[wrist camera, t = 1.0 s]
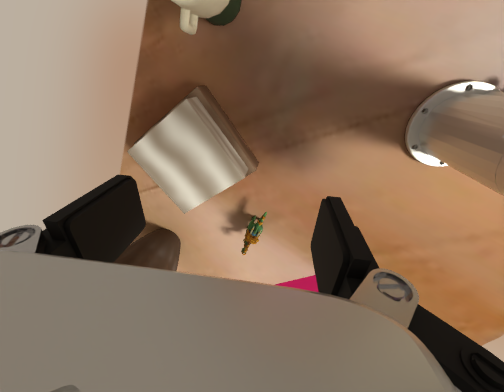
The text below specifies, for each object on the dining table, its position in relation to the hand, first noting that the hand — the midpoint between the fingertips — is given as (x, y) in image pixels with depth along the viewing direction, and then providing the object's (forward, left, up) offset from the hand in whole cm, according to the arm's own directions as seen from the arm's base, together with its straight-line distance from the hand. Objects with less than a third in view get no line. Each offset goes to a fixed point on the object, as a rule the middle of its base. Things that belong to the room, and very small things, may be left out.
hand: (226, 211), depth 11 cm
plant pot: (+38, +11, -30) cm, 50 cm away
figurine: (+14, +17, -30) cm, 38 cm away
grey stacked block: (+14, -2, -30) cm, 33 cm away
